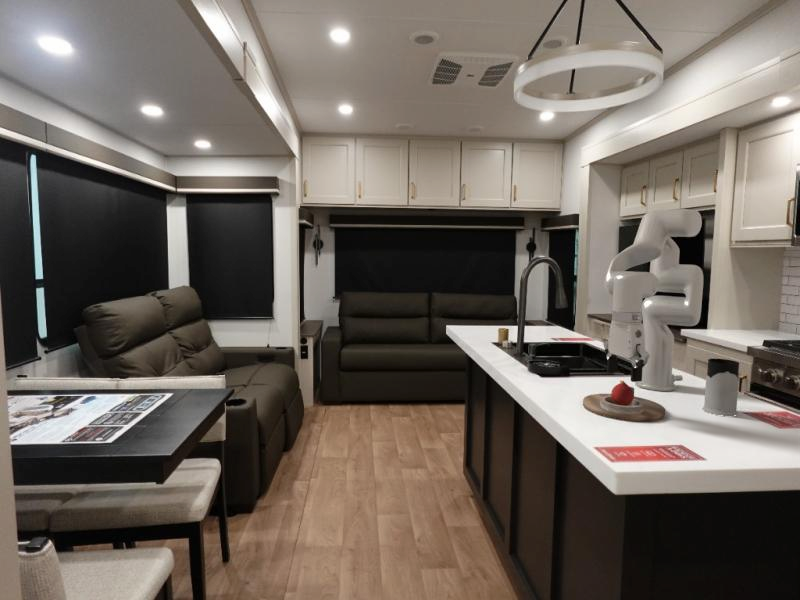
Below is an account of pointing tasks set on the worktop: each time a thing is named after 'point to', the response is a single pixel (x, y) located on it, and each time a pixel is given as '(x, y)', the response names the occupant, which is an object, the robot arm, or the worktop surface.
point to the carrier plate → (643, 417)
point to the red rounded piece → (622, 394)
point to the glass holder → (721, 387)
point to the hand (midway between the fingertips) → (623, 376)
